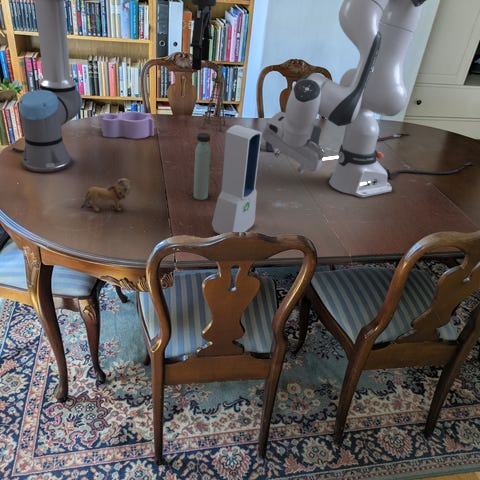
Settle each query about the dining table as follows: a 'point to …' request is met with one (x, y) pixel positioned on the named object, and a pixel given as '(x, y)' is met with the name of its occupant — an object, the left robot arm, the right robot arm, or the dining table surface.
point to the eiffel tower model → (217, 80)
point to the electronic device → (238, 181)
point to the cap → (203, 137)
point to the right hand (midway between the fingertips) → (288, 162)
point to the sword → (390, 137)
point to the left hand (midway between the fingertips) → (200, 65)
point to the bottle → (201, 170)
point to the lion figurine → (108, 193)
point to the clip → (127, 125)
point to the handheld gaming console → (314, 138)
